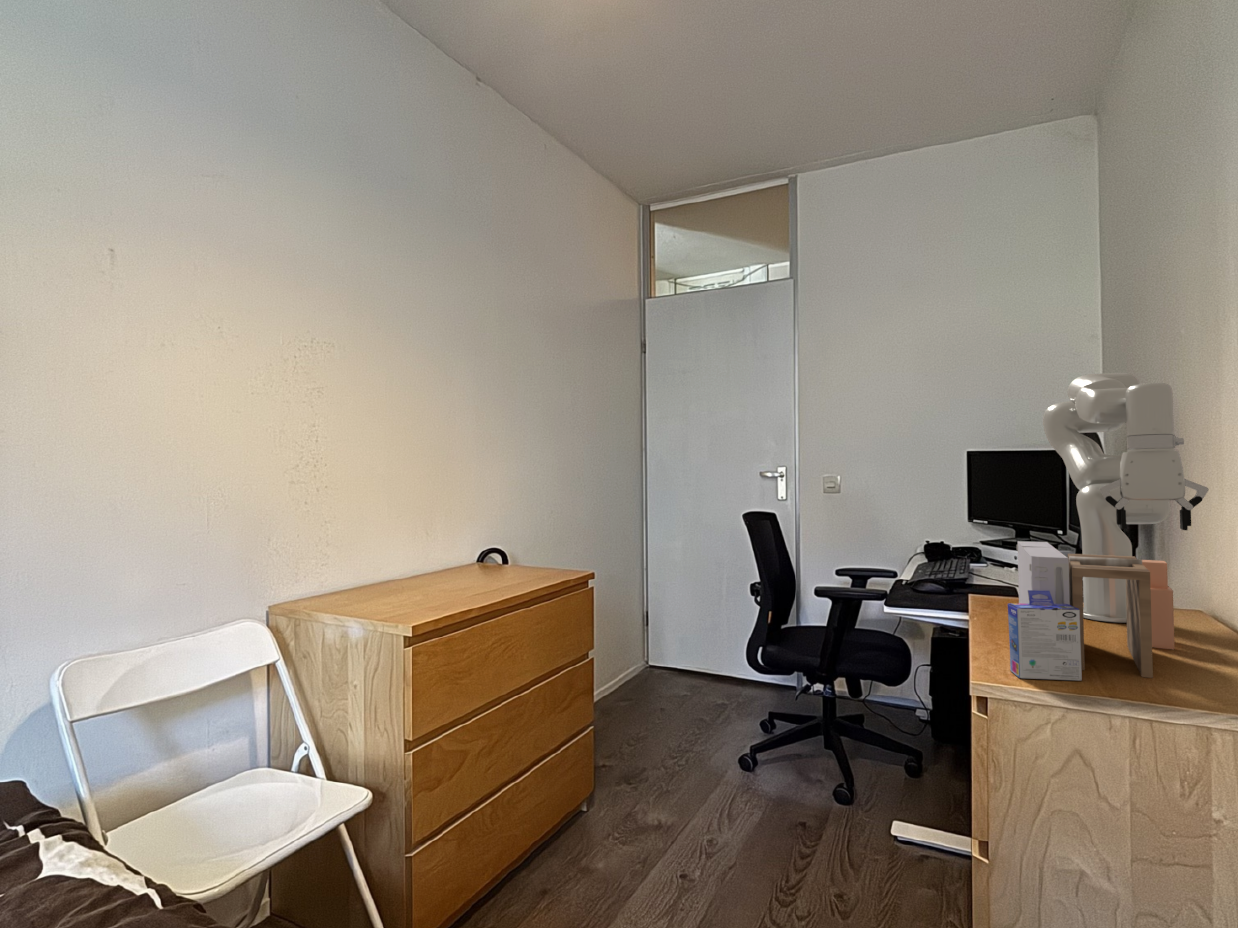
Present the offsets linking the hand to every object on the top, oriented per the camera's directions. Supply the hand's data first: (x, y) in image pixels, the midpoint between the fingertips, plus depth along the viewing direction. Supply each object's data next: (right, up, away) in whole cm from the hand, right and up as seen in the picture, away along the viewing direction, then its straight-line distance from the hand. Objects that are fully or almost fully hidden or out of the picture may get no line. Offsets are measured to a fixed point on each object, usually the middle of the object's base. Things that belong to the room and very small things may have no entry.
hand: (1153, 529), depth 135 cm
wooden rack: (-16, -23, -9) cm, 30 cm away
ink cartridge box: (-34, -24, -19) cm, 46 cm away
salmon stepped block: (+1, -23, 0) cm, 23 cm away
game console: (-24, -24, -3) cm, 34 cm away
